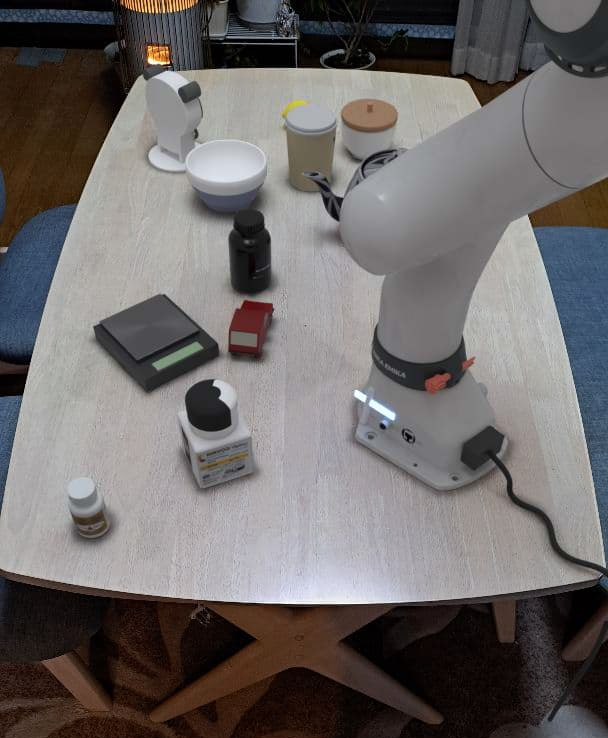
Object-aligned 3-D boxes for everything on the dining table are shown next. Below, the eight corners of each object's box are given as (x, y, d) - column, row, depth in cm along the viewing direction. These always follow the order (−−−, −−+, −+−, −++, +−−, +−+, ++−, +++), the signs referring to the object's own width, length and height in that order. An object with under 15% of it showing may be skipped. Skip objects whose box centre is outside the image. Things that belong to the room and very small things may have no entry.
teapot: (298, 206, 147) (298, 124, 135) (464, 201, 148) (479, 119, 136) (305, 271, 136) (306, 188, 124) (484, 265, 137) (503, 182, 125)
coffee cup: (344, 184, 151) (348, 120, 142) (303, 199, 148) (304, 135, 139) (316, 161, 156) (317, 98, 146) (276, 176, 153) (274, 112, 143)
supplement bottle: (266, 298, 132) (264, 232, 122) (226, 292, 132) (221, 226, 123) (276, 272, 136) (274, 207, 126) (236, 267, 136) (232, 201, 127)
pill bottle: (77, 542, 103) (63, 504, 97) (75, 515, 105) (61, 477, 99) (112, 535, 104) (100, 498, 97) (109, 509, 106) (97, 471, 100)
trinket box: (405, 152, 158) (410, 103, 150) (368, 173, 154) (372, 124, 146) (364, 132, 162) (368, 83, 155) (328, 152, 158) (329, 103, 150)
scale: (219, 355, 124) (218, 339, 121) (147, 392, 119) (144, 376, 116) (166, 306, 130) (163, 289, 128) (95, 339, 125) (91, 322, 123)
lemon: (317, 123, 164) (318, 96, 160) (315, 137, 161) (315, 109, 157) (283, 121, 165) (283, 93, 160) (280, 134, 162) (279, 107, 157)
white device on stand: (221, 156, 157) (215, 75, 144) (179, 180, 152) (169, 98, 139) (179, 134, 161) (169, 54, 149) (136, 157, 156) (123, 75, 144)
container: (201, 490, 108) (190, 422, 97) (182, 450, 112) (171, 381, 102) (254, 473, 110) (250, 404, 99) (234, 434, 114) (228, 365, 103)
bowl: (255, 173, 153) (253, 133, 147) (278, 215, 145) (277, 175, 139) (181, 185, 151) (176, 145, 144) (200, 229, 143) (195, 189, 136)
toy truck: (276, 316, 129) (277, 290, 125) (262, 364, 123) (262, 338, 118) (241, 311, 130) (240, 285, 125) (225, 359, 123) (223, 333, 119)
